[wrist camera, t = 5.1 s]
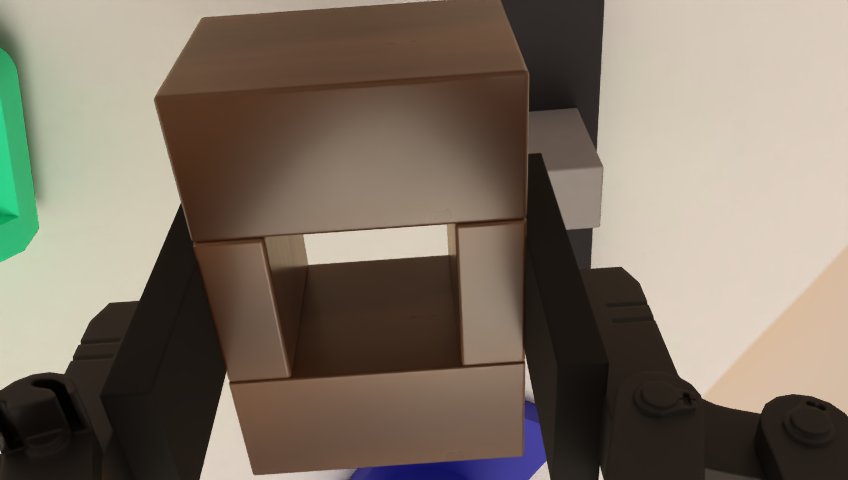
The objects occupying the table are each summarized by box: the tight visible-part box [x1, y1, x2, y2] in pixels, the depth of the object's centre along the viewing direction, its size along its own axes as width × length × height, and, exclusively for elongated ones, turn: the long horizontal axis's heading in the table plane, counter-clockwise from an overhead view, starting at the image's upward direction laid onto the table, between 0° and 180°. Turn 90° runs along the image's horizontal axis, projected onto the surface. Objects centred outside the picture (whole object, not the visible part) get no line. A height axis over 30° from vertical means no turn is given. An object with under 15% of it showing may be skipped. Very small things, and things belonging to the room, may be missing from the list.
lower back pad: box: [501, 0, 604, 270], centre depth 29 cm, size 18×4×6 cm, turn 4°
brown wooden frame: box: [154, 0, 529, 475], centre depth 17 cm, size 9×6×4 cm, turn 3°
